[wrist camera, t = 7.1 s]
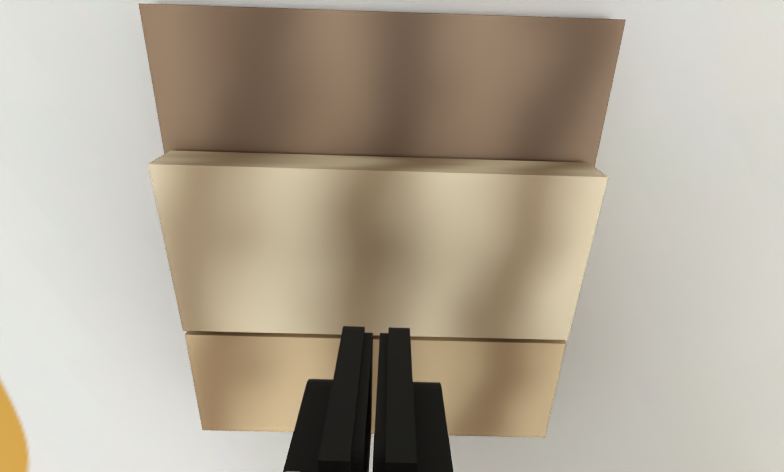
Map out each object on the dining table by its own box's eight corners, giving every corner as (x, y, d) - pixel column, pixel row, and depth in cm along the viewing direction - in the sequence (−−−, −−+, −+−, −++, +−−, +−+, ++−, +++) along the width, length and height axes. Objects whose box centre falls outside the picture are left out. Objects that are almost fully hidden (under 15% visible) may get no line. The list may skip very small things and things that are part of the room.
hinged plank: (588, 162, 20) (608, 177, 18) (554, 314, 23) (567, 339, 21) (170, 150, 19) (147, 164, 18) (199, 306, 23) (183, 330, 21)
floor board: (608, 21, 19) (652, 17, 16) (532, 403, 28) (551, 451, 24) (156, 6, 19) (109, -1, 16) (218, 396, 27) (195, 443, 24)
